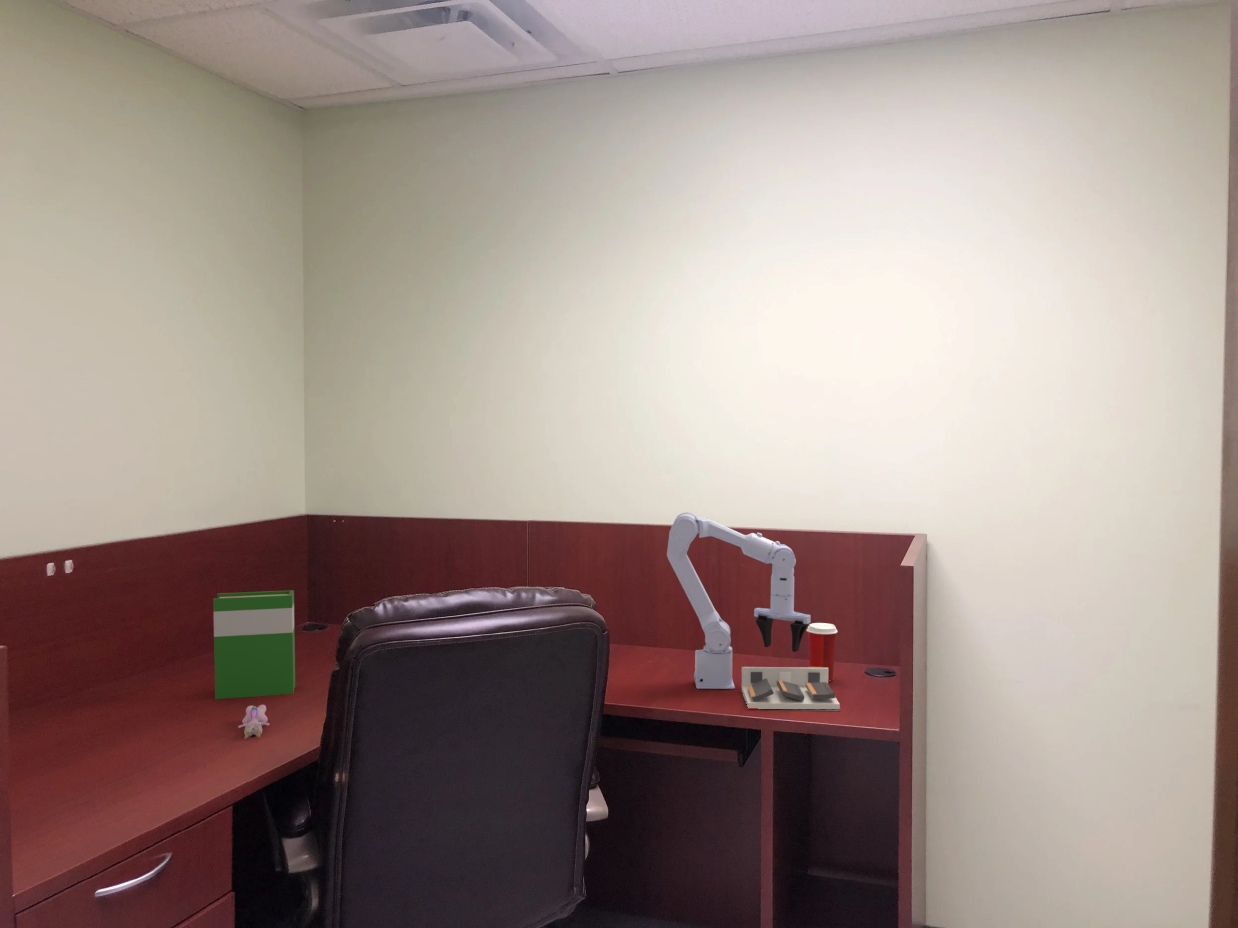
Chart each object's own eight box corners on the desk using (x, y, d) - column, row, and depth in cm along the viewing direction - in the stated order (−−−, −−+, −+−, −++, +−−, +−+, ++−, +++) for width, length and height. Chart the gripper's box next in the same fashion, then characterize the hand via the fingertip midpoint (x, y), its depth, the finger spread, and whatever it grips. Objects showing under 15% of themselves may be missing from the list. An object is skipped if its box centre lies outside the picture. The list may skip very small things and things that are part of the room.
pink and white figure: (268, 744, 203) (272, 712, 217) (268, 717, 201) (271, 687, 215) (236, 747, 201) (242, 714, 215) (235, 720, 199) (241, 689, 213)
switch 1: (753, 701, 223) (751, 697, 223) (749, 689, 233) (747, 685, 233) (773, 693, 223) (771, 689, 223) (768, 681, 233) (766, 677, 233)
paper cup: (834, 675, 251) (835, 622, 251) (838, 684, 244) (839, 629, 243) (804, 675, 252) (805, 621, 251) (807, 683, 244) (807, 628, 244)
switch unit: (748, 709, 222) (748, 683, 222) (741, 690, 237) (741, 666, 237) (839, 710, 222) (840, 684, 222) (827, 691, 237) (827, 667, 237)
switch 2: (782, 695, 223) (783, 690, 223) (776, 683, 233) (777, 678, 233) (803, 701, 223) (804, 696, 223) (796, 688, 233) (797, 684, 233)
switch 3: (813, 699, 223) (812, 694, 223) (805, 686, 233) (805, 682, 233) (834, 698, 223) (834, 693, 223) (826, 685, 233) (826, 681, 233)
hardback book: (215, 699, 230) (213, 599, 228) (219, 690, 237) (217, 593, 236) (293, 693, 234) (291, 595, 233) (295, 685, 241) (293, 590, 240)
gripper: (748, 593, 241) (747, 647, 241) (802, 600, 232) (801, 656, 233) (761, 589, 246) (761, 641, 247) (814, 595, 238) (813, 650, 239)
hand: (781, 648), depth 240 cm, fingers open, 7 cm apart
